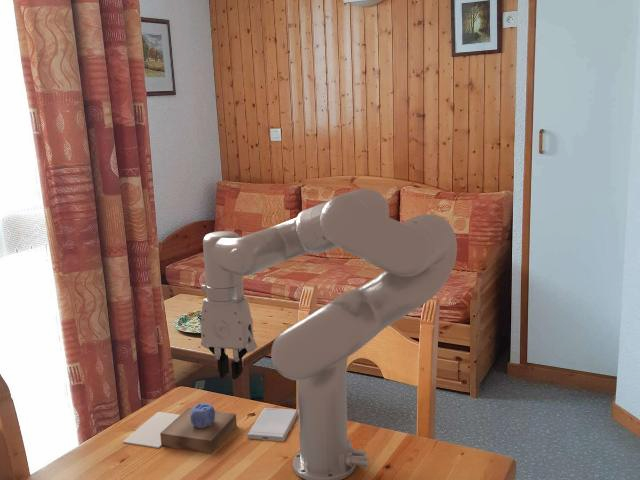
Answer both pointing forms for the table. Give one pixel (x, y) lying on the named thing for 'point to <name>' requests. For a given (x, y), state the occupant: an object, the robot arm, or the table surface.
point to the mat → (151, 430)
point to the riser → (198, 432)
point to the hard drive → (273, 424)
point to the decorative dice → (202, 415)
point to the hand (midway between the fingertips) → (230, 375)
